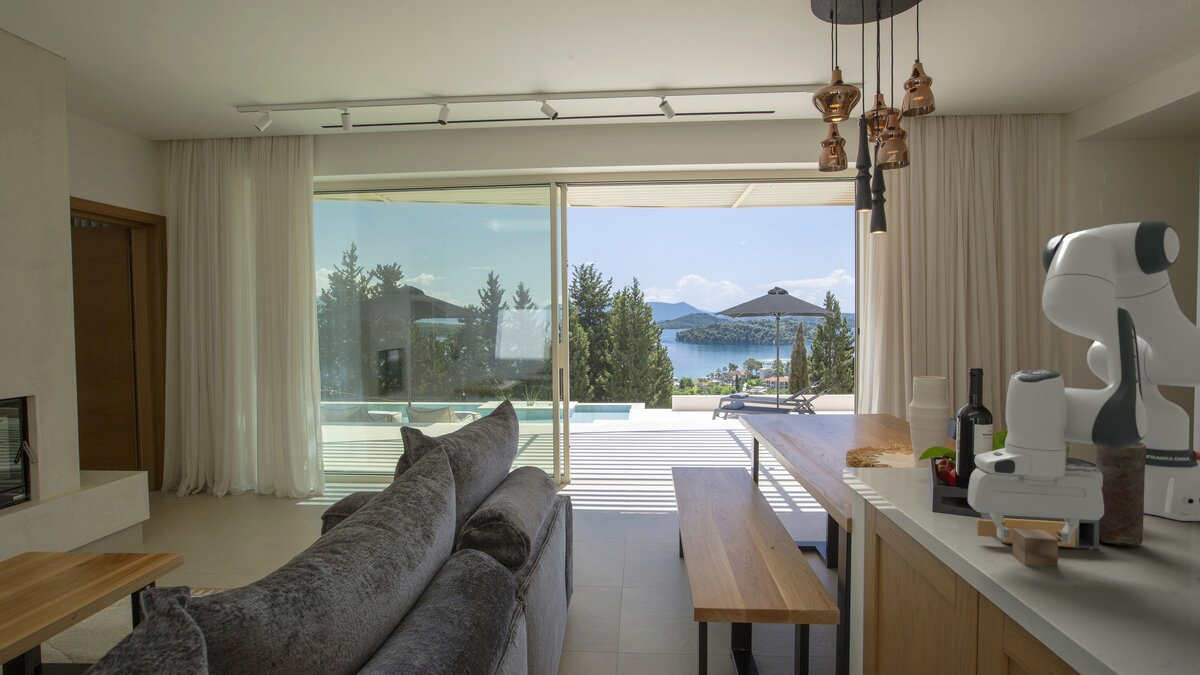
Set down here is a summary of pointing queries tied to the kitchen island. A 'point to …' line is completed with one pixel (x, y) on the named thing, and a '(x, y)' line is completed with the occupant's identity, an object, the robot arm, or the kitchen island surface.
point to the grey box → (1086, 527)
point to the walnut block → (1035, 548)
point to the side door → (1049, 526)
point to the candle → (1122, 494)
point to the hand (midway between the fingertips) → (1033, 539)
